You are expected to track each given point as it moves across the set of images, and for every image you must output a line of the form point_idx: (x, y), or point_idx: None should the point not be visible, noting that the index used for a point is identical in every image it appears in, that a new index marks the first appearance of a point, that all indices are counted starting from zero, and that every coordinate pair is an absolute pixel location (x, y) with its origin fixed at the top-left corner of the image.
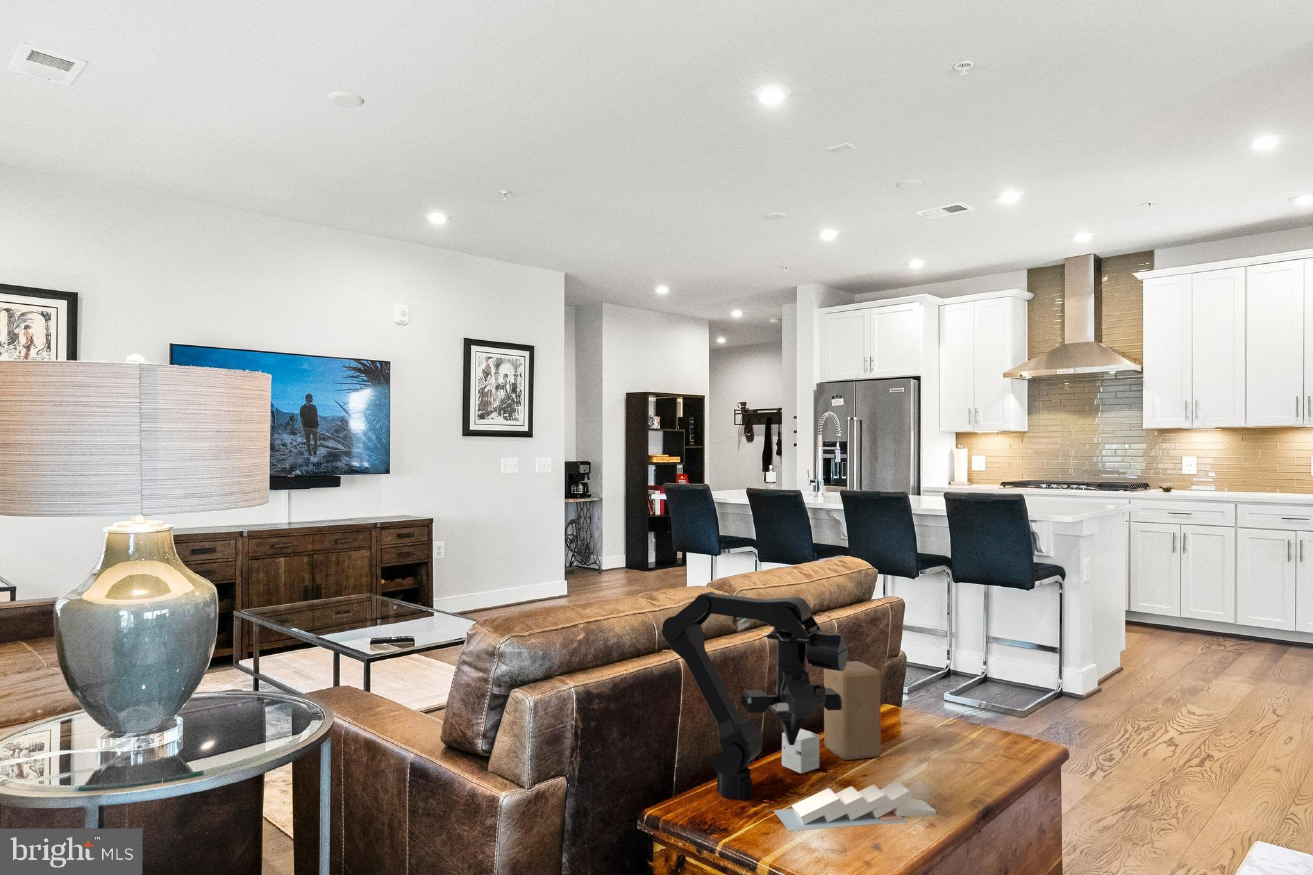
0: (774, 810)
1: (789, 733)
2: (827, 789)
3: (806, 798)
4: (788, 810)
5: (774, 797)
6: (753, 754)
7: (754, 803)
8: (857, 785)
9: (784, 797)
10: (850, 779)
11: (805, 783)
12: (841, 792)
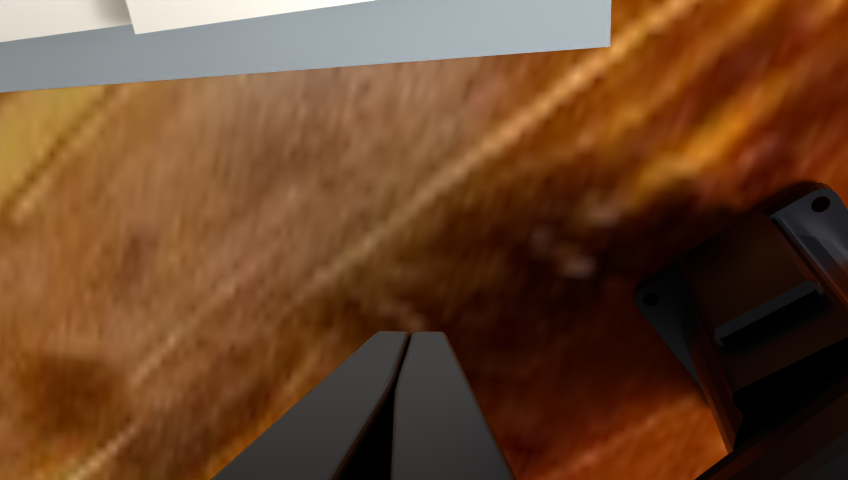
0: (603, 39)
1: (451, 444)
2: (154, 12)
3: (359, 1)
4: (500, 29)
5: (509, 292)
6: (814, 434)
7: (663, 230)
8: (16, 371)
9: (448, 285)
10: (48, 435)
11: None
12: (49, 9)
